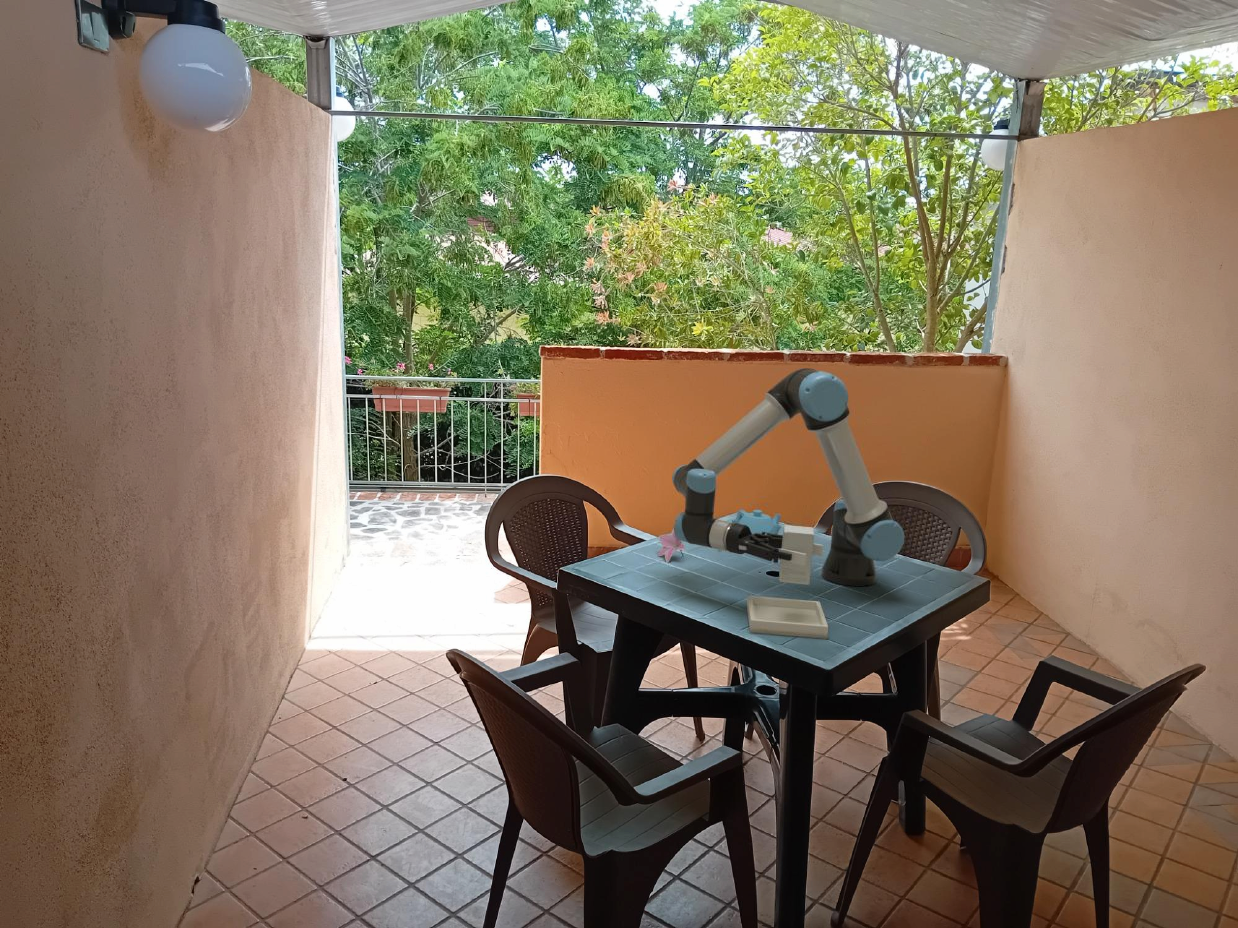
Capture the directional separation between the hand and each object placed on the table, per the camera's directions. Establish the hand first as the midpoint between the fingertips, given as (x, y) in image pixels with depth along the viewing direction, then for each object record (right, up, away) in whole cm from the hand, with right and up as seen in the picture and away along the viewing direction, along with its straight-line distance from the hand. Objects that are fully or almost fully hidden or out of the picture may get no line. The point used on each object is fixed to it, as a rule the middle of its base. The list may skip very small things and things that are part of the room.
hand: (814, 555), depth 226 cm
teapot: (-3, -4, +74) cm, 74 cm away
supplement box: (-4, -6, +4) cm, 8 cm away
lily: (-31, -6, +53) cm, 62 cm away
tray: (-6, -17, +4) cm, 18 cm away
